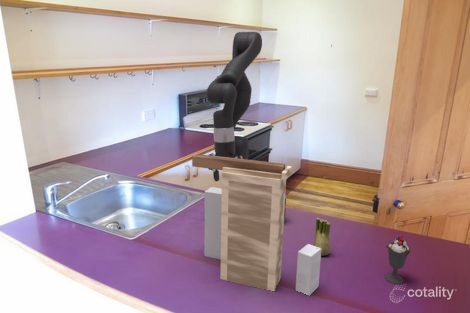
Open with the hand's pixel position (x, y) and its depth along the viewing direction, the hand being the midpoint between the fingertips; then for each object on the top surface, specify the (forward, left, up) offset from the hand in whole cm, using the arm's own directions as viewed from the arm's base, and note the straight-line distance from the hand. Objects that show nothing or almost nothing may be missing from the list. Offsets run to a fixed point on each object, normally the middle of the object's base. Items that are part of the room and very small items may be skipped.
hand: (226, 182), depth 132 cm
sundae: (+13, +59, -19) cm, 63 cm away
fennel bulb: (+6, +37, -19) cm, 42 cm away
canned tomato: (-13, +16, -19) cm, 28 cm away
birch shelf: (+29, +20, -18) cm, 40 cm away
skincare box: (+28, +36, -19) cm, 49 cm away
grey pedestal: (+20, +6, -18) cm, 28 cm away
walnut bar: (+29, +15, +14) cm, 36 cm away
